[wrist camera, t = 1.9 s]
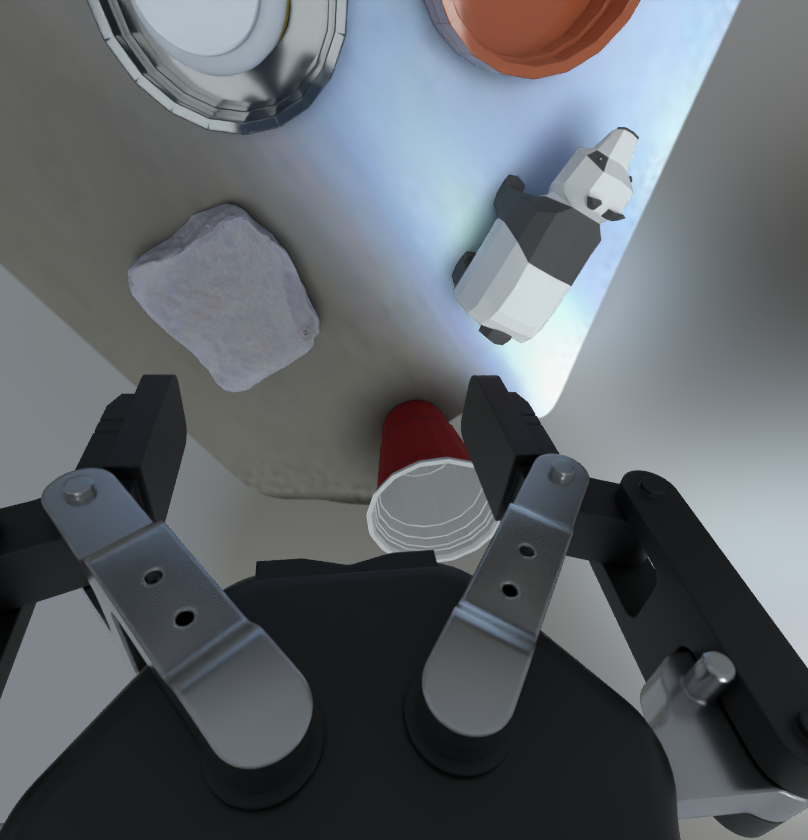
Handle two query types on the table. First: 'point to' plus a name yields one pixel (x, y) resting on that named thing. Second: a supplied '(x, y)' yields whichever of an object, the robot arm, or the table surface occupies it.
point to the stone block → (227, 296)
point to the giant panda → (543, 240)
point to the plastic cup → (427, 488)
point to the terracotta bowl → (529, 32)
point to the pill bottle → (215, 31)
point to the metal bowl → (238, 94)
